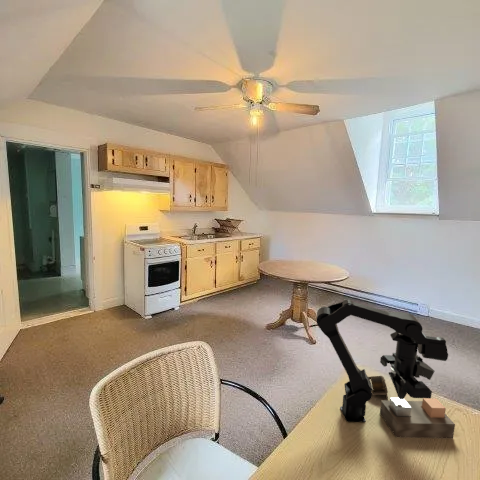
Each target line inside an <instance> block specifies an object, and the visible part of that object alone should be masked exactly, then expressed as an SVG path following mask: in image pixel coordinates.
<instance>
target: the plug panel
mask: <svg viewBox="0 0 480 480" xmlns="http://www.w3.org/2000/svg"><path fill="white" fill-rule="evenodd" d="M380 401H381V402H380V407H379V408H380V410H379V414H380V416H381V417H382V419H383V420H384V422H385V423H386V425H387V426H388V428H389V429H390V431H391V432H392V434H393V436H394V437H395V438H405V439H407V438H409V439H413V438H414V439H454V435H455V429H456V428H455V427H456V423H455V422H454V421H453V420H452V419H451V418H449V416H448V415H447V414H446V413H445V417H444V418H430V417H429V415H428V414H427V413H426V412H425V411H424V410H423V409H422V402H423V400H406V402H407V403H408V404H409V405H410V406H411V415H410V417H396V416H395V415H394V413H393V412H392V410H391V409H390V408H389V404H390V399H389V400H385V399H384V400H383V399H382V400H381V399H380Z"/></svg>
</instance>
